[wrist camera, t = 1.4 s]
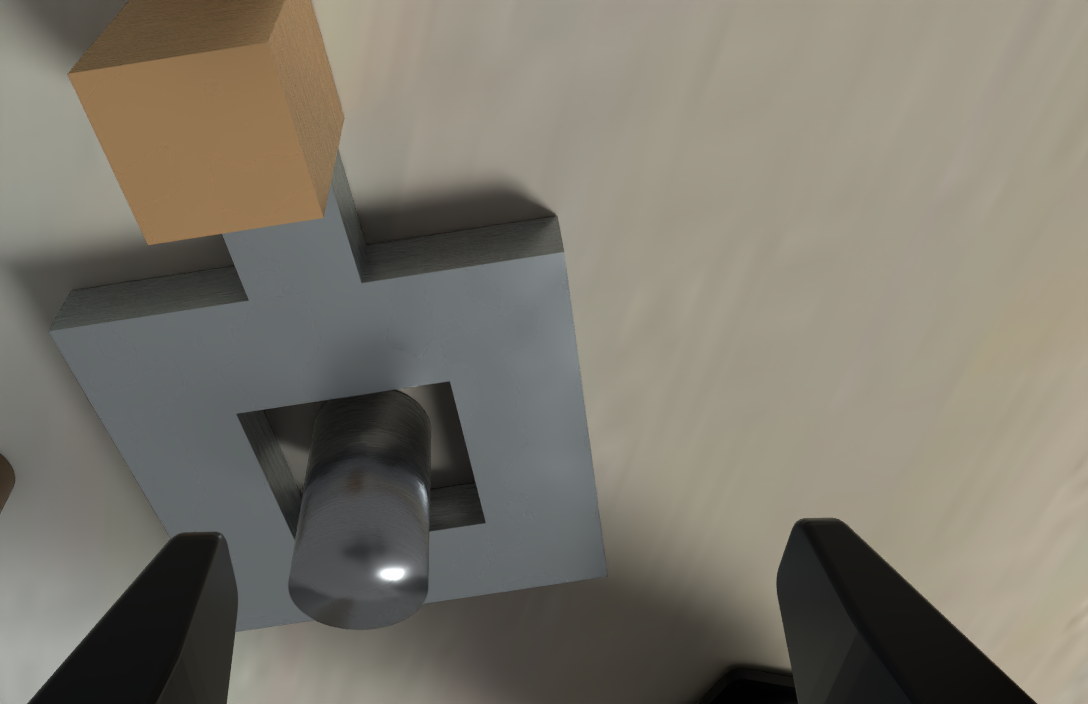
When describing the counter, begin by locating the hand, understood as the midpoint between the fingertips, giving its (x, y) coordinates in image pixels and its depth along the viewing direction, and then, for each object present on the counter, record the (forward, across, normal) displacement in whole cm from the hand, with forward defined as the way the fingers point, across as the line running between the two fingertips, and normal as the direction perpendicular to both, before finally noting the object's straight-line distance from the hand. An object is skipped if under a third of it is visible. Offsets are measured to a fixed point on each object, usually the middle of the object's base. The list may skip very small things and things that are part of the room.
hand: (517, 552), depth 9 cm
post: (+12, +3, +10) cm, 16 cm away
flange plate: (+12, +3, +7) cm, 14 cm away
